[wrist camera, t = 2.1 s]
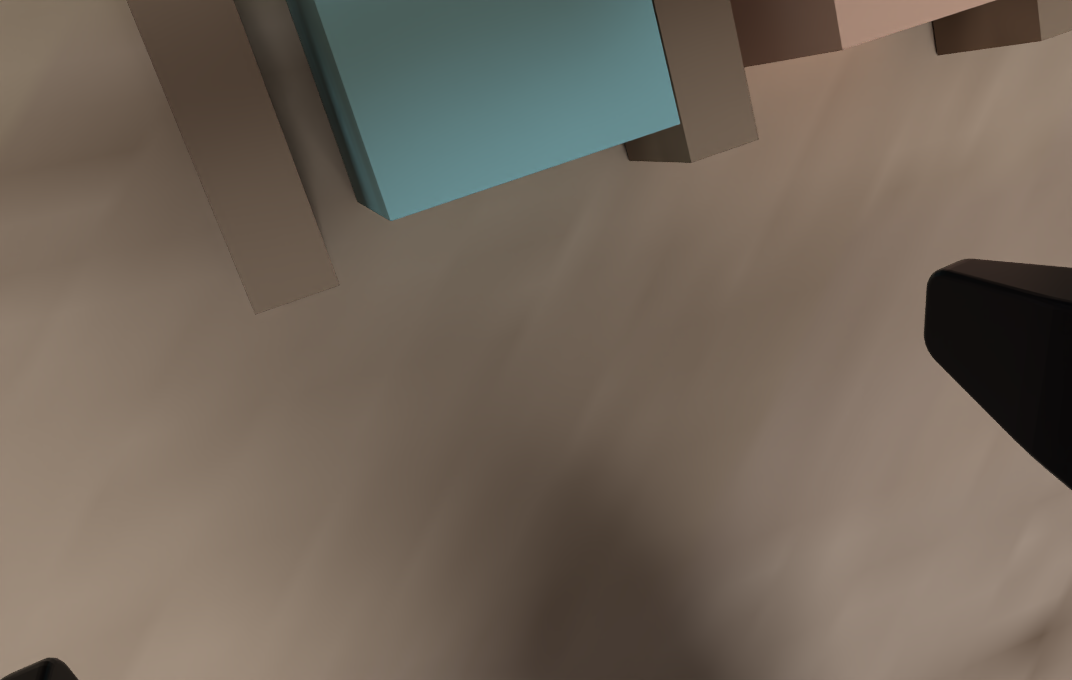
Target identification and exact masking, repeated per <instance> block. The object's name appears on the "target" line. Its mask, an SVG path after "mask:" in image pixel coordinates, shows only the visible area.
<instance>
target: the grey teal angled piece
mask: <svg viewBox="0 0 1072 680" xmlns="http://www.w3.org/2000/svg"><path fill="white" fill-rule="evenodd" d="M286 2H287V5H288V7H289V10H290V13H291V16H292V19H293V21H294V24H295V27H296V30H297V33H298V36H299V38H300V41H301V44H302V47H303V50H304V52H305V55H306V58H307V61H308V64H309V66H310V69H311V72H312V75H313V78H314V80H315V83H316V86H317V89H318V92H319V94H320V97H321V100H322V103H323V106H324V109H325V111H326V114H327V117H328V120H329V123H330V125H331V128H332V131H333V134H334V137H335V139H336V142H337V145H338V148H339V151H340V153H341V156H342V159H343V162H344V165H345V168H346V170H347V173H348V176H349V179H350V182H351V184H352V187H353V190H354V193H355V196H356V198H357V201H358V202H359V203H360V204H362V205H364V206H366V207H367V208H369V209H371V210H372V211H374V212H376V213H378V214H379V215H381V216H383V217H384V218H386V219H388V220H390V221H393V220H396V219H399V218H402V217H405V216H408V215H411V214H414V213H417V212H420V211H423V210H426V209H429V208H431V207H434V206H437V205H440V204H443V203H446V202H449V201H452V200H455V199H458V198H461V197H464V196H467V195H470V194H473V193H476V192H479V191H482V190H485V189H488V188H491V187H494V186H497V185H500V184H503V183H506V182H509V181H512V180H515V179H518V178H521V177H524V176H527V175H530V174H533V173H536V172H539V171H542V170H545V169H548V168H551V167H553V166H556V165H559V164H562V163H565V162H568V161H571V160H574V159H577V158H580V157H583V156H586V155H589V154H592V153H595V152H598V151H601V150H604V149H607V148H610V147H613V146H616V145H619V144H622V143H625V142H628V141H631V140H634V139H637V138H640V137H643V136H646V135H649V134H652V133H655V132H658V131H661V130H664V129H667V128H670V127H672V126H675V125H678V124H680V120H679V116H678V111H677V107H676V103H675V99H674V94H673V90H672V86H671V81H670V77H669V73H668V69H667V64H666V60H665V56H664V51H663V47H662V43H661V39H660V34H659V30H658V26H657V21H656V17H655V13H654V9H653V4H652V0H286Z"/></svg>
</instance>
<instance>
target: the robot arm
mask: <svg viewBox="0 0 1072 680" xmlns="http://www.w3.org/2000/svg"><path fill="white" fill-rule="evenodd" d="M924 340H925V344H926V347H927V349H928V351H929V353H930V354H931V356H932V357H933V358H934V359H935V361H936V362H937V363H938V364H939V365H940V366H941V367H942V368H943V369H944V370H945V371H946V372H947V373H948V374H949V375H950V376H951V377H952V378H953V379H954V380H955V381H956V382H957V383H958V384H959V385H960V386H961V387H962V388H963V389H964V390H965V391H966V392H967V393H968V394H969V395H970V396H971V397H972V398H973V399H974V400H975V401H976V402H977V403H978V404H979V405H980V406H981V407H982V408H983V409H984V410H985V411H986V412H987V413H988V414H989V415H990V416H991V417H992V418H993V419H994V420H995V421H996V422H997V423H998V424H999V425H1000V426H1001V427H1002V428H1003V429H1004V430H1005V431H1006V432H1007V433H1008V434H1009V435H1010V436H1011V437H1012V438H1013V439H1014V440H1015V441H1016V442H1017V443H1018V444H1019V445H1020V446H1021V447H1022V448H1024V449H1025V450H1026V451H1027V452H1028V453H1029V454H1030V455H1031V456H1032V457H1033V458H1034V459H1035V460H1037V461H1038V462H1039V463H1040V464H1041V465H1042V466H1043V467H1045V468H1046V469H1047V470H1048V471H1049V472H1050V473H1052V474H1053V475H1054V476H1055V477H1056V478H1058V479H1059V480H1060V481H1061V482H1062V483H1064V484H1065V485H1066V486H1067V487H1068V488H1070V489H1071V490H1072V268H1068V267H1057V266H1046V265H1035V264H1024V263H1013V262H1002V261H991V260H980V259H964V260H960V261H957V262H955V263H953V264H951V265H948V266H946V267H944V268H941V269H939V270H937V271H935V272H934V273H933V274H932V275H931V277H930V278H929V280H928V283H927V290H926V307H925V324H924ZM1 680H78V679H77V677H76V676H75V675H74V674H73V672H72V671H71V670H70V669H69V667H68V666H67V665H66V664H65V663H64V662H63V661H61V660H59V659H58V658H46V659H43V660H41V661H38V662H36V663H34V664H32V665H29V666H27V667H25V668H22V669H20V670H18V671H15V672H13V673H11V674H9V675H7V676H6V677H4V678H2V679H1Z"/></svg>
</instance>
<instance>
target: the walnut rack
mask: <svg viewBox="0 0 1072 680" xmlns="http://www.w3.org/2000/svg"><path fill="white" fill-rule="evenodd" d="M127 3H128V5H129V8H130V10H131V13H132V15H133V17H134V20H135V22H136V25H137V27H138V30H139V32H140V34H141V37H142V39H143V42H144V44H145V47H146V49H147V52H148V54H149V56H150V59H151V61H152V64H153V66H154V69H155V71H156V74H157V76H158V78H159V81H160V83H161V86H162V88H163V91H164V93H165V96H166V98H167V100H168V103H169V105H170V108H171V110H172V113H173V115H174V117H175V120H176V122H177V125H178V127H179V130H180V132H181V135H182V137H183V139H184V142H185V144H186V147H187V149H188V152H189V154H190V157H191V159H192V161H193V164H194V166H195V169H196V171H197V174H198V176H199V179H200V181H201V183H202V186H203V188H204V191H205V193H206V196H207V198H208V200H209V203H210V205H211V208H212V210H213V213H214V215H215V218H216V220H217V222H218V225H219V227H220V230H221V232H222V235H223V237H224V240H225V242H226V244H227V247H228V249H229V252H230V254H231V257H232V259H233V262H234V264H235V266H236V269H237V271H238V274H239V276H240V279H241V281H242V283H243V286H244V288H245V291H246V293H247V296H248V298H249V301H250V303H251V305H252V308H253V310H254V313H255V314H258V313H261V312H264V311H267V310H270V309H273V308H276V307H278V306H281V305H284V304H287V303H290V302H293V301H296V300H299V299H301V298H304V297H307V296H310V295H313V294H316V293H319V292H322V291H324V290H327V289H330V288H333V287H336V286H339V285H340V284H339V281H338V279H337V276H336V273H335V271H334V268H333V265H332V263H331V260H330V257H329V255H328V252H327V249H326V247H325V244H324V241H323V239H322V236H321V233H320V231H319V228H318V225H317V223H316V220H315V217H314V215H313V212H312V209H311V207H310V204H309V201H308V199H307V196H306V193H305V190H304V188H303V185H302V182H301V180H300V177H299V174H298V172H297V169H296V166H295V164H294V161H293V158H292V156H291V153H290V150H289V148H288V145H287V142H286V140H285V137H284V134H283V132H282V129H281V126H280V124H279V121H278V118H277V116H276V113H275V110H274V108H273V105H272V102H271V100H270V97H269V94H268V91H267V89H266V86H265V83H264V81H263V78H262V75H261V73H260V70H259V67H258V65H257V62H256V59H255V57H254V54H253V51H252V49H251V46H250V43H249V41H248V38H247V35H246V33H245V30H244V27H243V25H242V22H241V19H240V17H239V14H238V11H237V9H236V6H235V3H234V1H233V0H127ZM652 4H653V9H654V13H655V17H656V21H657V26H658V30H659V34H660V39H661V43H662V47H663V51H664V56H665V60H666V64H667V69H668V73H669V77H670V81H671V86H672V90H673V94H674V99H675V103H676V107H677V111H678V116H679V120H680V124H678V125H675V126H672V127H670V128H667V129H664V130H661V131H658V132H655V133H652V134H649V135H646V136H643V137H640V138H637V139H634V140H631V141H628V142H625V146H626V150H627V154H628V157H629V161H654V162H684V163H692V162H695V161H698V160H701V159H704V158H707V157H709V156H712V155H715V154H718V153H721V152H724V151H727V150H730V149H732V148H735V147H738V146H741V145H744V144H747V143H750V142H753V141H755V140H758V139H759V138H758V133H757V128H756V124H755V119H754V114H753V109H752V104H751V100H750V95H749V90H748V85H747V80H746V75H745V71H744V66H743V61H742V56H741V51H740V46H739V42H738V37H737V32H736V27H735V22H734V17H733V13H732V8H731V3H730V0H652ZM933 25H934V32H935V39H936V47H937V54H938V55H944V54H951V53H958V52H966V51H973V50H980V49H987V48H994V47H1001V46H1009V45H1016V44H1023V43H1030V42H1037V41H1043V40H1046V39H1048V38H1051V37H1054V36H1057V35H1060V34H1063V33H1066V32H1069V31H1071V30H1072V0H995V1H992V2H989V3H986V4H983V5H980V6H976V7H973V8H970V9H967V10H964V11H961V12H958V13H955V14H952V15H949V16H946V17H943V18H940V19H936V20H933Z"/></svg>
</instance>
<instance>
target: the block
mask: <svg viewBox="0 0 1072 680" xmlns="http://www.w3.org/2000/svg"><path fill="white" fill-rule="evenodd" d="M992 1H995V0H730V3H731V8H732V13H733V17H734V22H735V27H736V32H737V37H738V42H739V46H740V51H741V56H742V61H743V66H744V67H748V66H754V65H760V64H766V63H771V62H777V61H783V60H788V59H794V58H800V57H805V56H811V55H817V54H822V53H828V52H834V51H839V50H844V49H847V48H850V47H853V46H856V45H859V44H862V43H866V42H869V41H872V40H875V39H878V38H881V37H884V36H887V35H890V34H893V33H896V32H899V31H903V30H906V29H909V28H912V27H915V26H918V25H921V24H924V23H927V22H930V21H933V20H936V19H940V18H943V17H946V16H949V15H952V14H955V13H958V12H961V11H964V10H967V9H970V8H973V7H976V6H980V5H983V4H986V3H989V2H992Z"/></svg>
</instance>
